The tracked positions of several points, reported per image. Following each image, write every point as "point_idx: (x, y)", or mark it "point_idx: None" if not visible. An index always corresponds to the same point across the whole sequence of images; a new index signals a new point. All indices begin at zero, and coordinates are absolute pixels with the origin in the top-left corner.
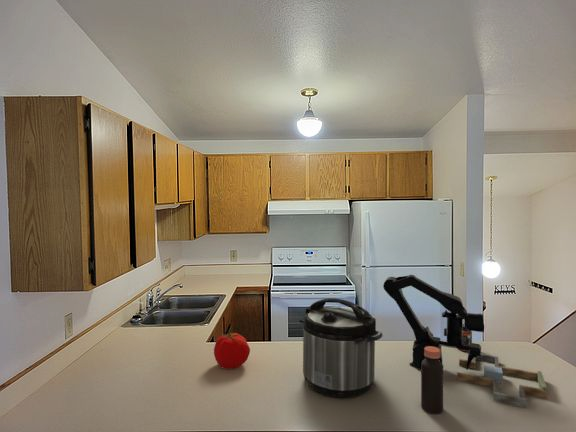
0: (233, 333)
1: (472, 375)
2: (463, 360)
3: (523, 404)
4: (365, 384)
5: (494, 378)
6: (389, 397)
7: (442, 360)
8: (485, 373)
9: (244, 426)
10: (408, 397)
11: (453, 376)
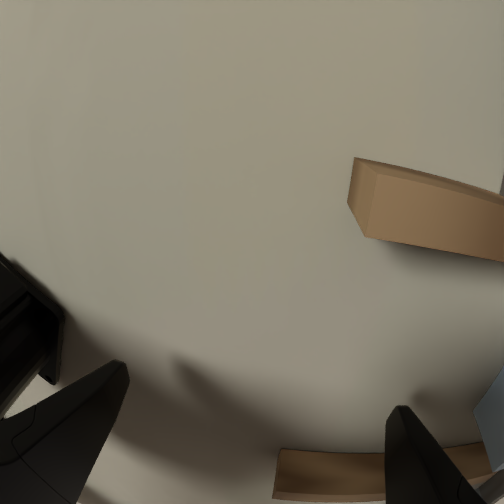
0: None
1: (380, 495)
2: (438, 248)
3: None
4: None
5: None
6: (88, 486)
7: (106, 385)
8: (492, 451)
9: None
10: (123, 497)
11: (254, 432)
